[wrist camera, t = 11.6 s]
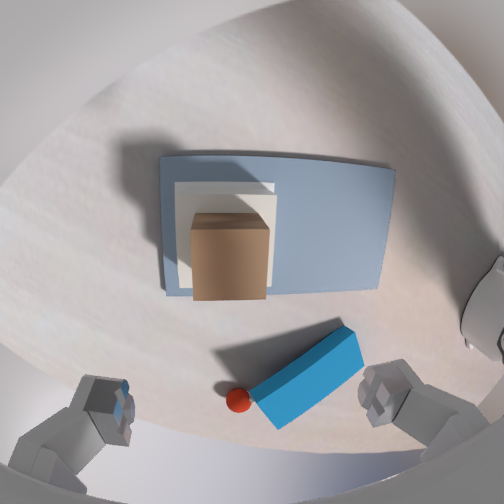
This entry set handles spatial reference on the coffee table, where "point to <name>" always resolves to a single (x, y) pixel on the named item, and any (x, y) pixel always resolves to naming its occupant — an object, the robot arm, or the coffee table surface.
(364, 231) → the board
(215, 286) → the walnut cube
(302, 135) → the coffee table surface
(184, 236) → the base block
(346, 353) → the lever
